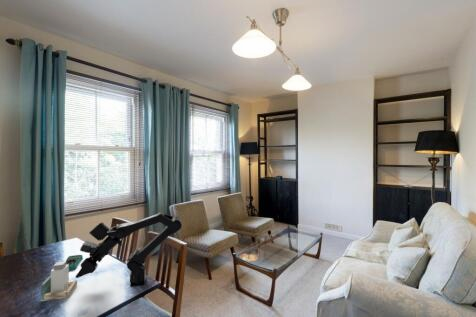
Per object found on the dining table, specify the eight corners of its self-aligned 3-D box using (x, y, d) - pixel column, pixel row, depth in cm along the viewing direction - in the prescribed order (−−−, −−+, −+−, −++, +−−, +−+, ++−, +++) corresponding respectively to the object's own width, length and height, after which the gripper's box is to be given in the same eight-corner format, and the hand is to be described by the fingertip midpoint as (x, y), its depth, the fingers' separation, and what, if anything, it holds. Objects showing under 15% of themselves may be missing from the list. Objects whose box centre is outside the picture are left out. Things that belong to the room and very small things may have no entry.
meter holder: (76, 284, 113) (76, 270, 112) (68, 297, 103) (68, 281, 103) (52, 288, 110) (52, 273, 110) (41, 301, 100) (41, 284, 100)
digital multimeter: (59, 272, 124) (59, 267, 124) (68, 260, 138) (68, 255, 138) (75, 270, 127) (75, 265, 127) (82, 258, 141) (82, 253, 141)
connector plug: (68, 287, 110) (68, 260, 109) (64, 293, 105) (64, 265, 104) (56, 289, 108) (56, 261, 108) (51, 295, 103) (50, 266, 103)
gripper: (98, 229, 118) (73, 253, 116) (85, 243, 101) (56, 271, 98) (115, 242, 121) (91, 266, 118) (106, 259, 103) (77, 287, 100)
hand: (79, 272), depth 109 cm, fingers open, 9 cm apart
